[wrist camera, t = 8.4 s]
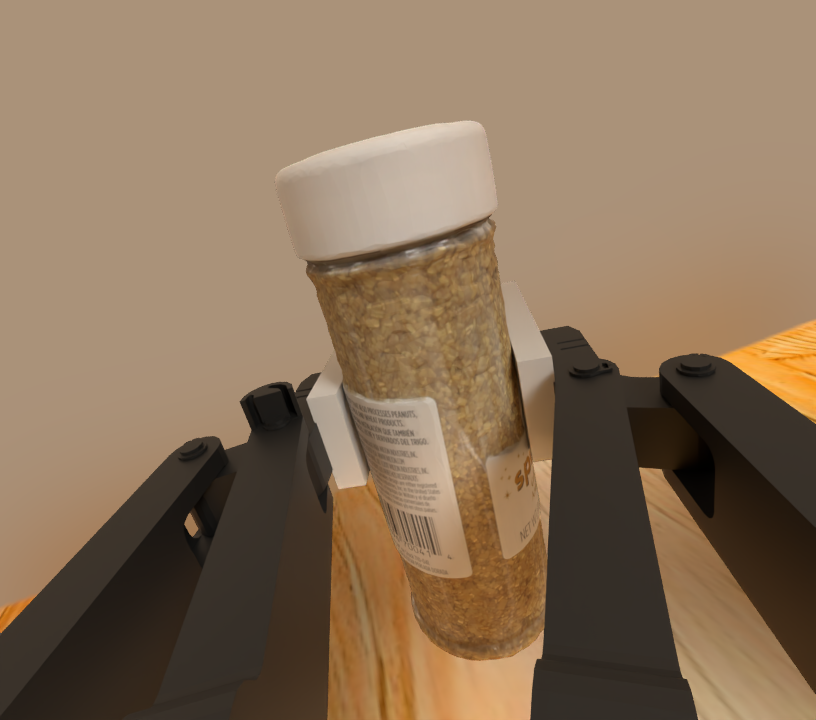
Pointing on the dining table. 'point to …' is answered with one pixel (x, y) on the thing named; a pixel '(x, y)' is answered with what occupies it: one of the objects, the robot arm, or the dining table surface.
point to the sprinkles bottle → (430, 371)
